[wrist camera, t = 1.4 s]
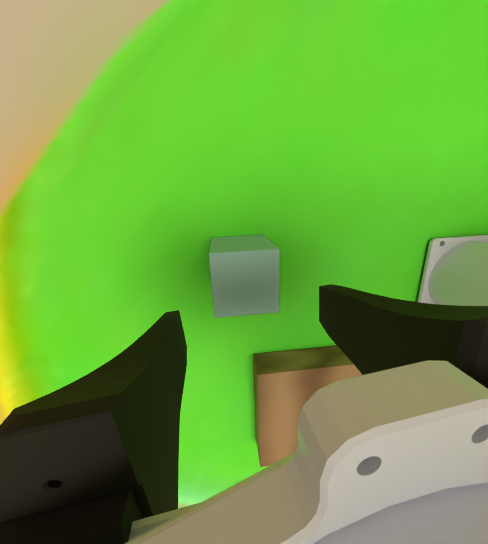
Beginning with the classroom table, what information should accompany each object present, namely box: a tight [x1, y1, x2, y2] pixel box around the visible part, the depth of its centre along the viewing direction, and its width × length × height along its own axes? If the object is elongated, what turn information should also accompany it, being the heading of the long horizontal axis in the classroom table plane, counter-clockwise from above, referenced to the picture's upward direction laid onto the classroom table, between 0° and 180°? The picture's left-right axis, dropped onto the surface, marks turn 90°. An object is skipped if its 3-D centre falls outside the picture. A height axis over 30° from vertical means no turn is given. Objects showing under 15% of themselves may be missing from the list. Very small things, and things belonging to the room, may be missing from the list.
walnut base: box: [253, 346, 362, 467], centre depth 26 cm, size 12×12×3 cm
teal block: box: [209, 234, 280, 318], centre depth 19 cm, size 4×4×6 cm
